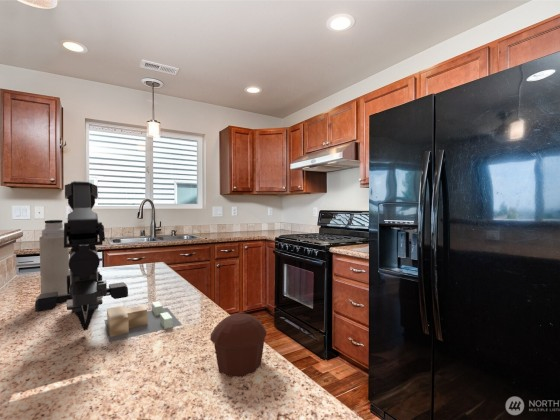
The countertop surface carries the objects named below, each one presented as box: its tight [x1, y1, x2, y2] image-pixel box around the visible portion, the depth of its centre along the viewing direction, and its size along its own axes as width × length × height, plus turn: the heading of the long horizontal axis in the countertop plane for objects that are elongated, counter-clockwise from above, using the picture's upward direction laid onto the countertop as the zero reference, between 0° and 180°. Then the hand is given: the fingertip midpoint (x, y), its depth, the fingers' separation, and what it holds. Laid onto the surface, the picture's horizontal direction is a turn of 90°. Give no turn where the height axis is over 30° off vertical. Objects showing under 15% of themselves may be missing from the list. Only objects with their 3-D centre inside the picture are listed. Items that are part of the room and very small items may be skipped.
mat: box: [104, 307, 183, 343], centre depth 81 cm, size 17×16×1 cm
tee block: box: [106, 304, 148, 337], centre depth 79 cm, size 9×10×4 cm
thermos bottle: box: [39, 219, 70, 295], centre depth 101 cm, size 8×8×28 cm
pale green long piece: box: [151, 300, 174, 330], centre depth 84 cm, size 2×16×2 cm, turn 34°
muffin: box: [209, 313, 268, 378], centre depth 61 cm, size 12×11×10 cm
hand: (85, 329), depth 73 cm, fingers closed
